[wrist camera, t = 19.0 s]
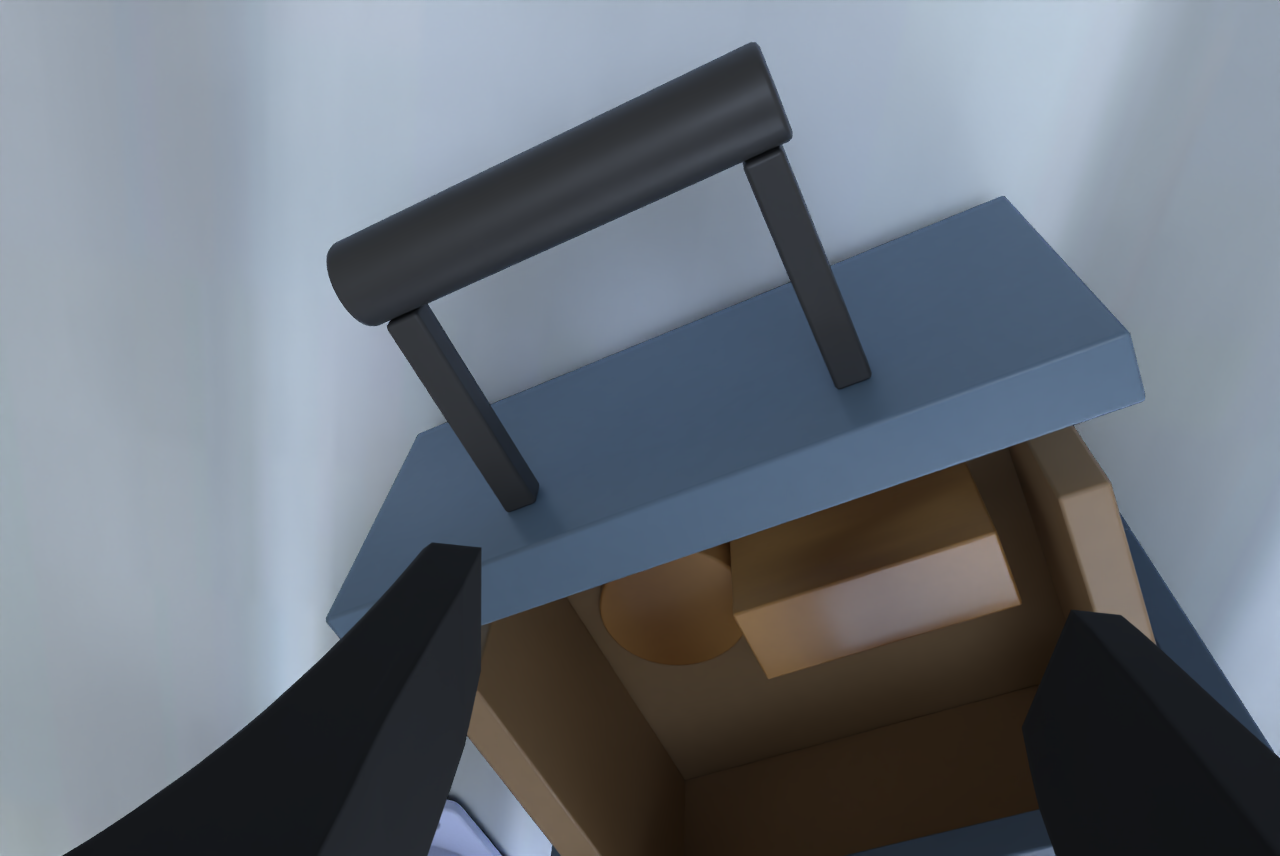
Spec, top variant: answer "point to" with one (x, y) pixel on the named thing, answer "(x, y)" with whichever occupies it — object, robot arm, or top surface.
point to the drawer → (746, 491)
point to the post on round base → (823, 581)
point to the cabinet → (1019, 844)
